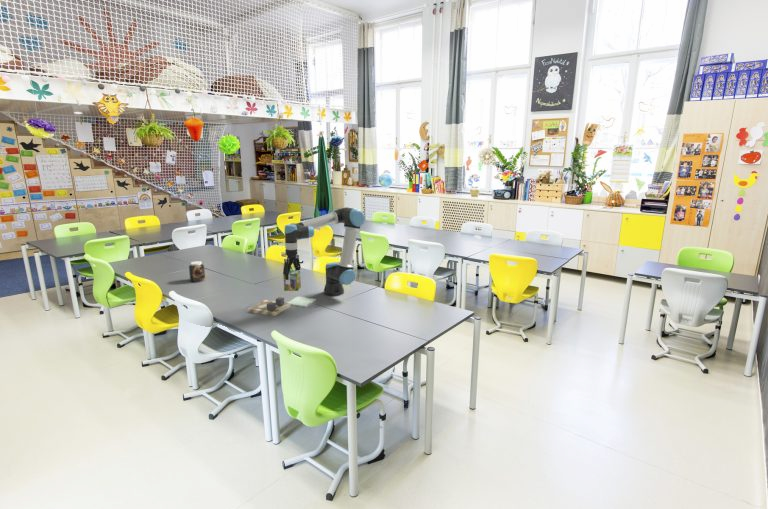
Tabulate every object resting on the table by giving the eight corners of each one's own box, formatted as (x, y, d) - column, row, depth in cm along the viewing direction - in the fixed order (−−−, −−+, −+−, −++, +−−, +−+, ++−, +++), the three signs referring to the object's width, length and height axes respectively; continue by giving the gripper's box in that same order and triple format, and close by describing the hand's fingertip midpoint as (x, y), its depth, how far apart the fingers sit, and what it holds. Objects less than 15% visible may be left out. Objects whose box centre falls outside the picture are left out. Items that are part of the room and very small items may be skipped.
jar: (186, 281, 328) (184, 263, 325) (197, 277, 339) (195, 260, 335) (198, 283, 324) (196, 264, 321) (208, 279, 335) (207, 261, 332)
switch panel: (290, 306, 277) (290, 303, 276) (274, 316, 259) (274, 313, 259) (265, 302, 283) (265, 299, 282) (248, 312, 265) (248, 309, 265)
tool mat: (316, 300, 289) (316, 298, 288) (305, 307, 275) (305, 305, 275) (297, 297, 293) (297, 296, 293) (286, 304, 279) (286, 303, 279)
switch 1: (275, 308, 265) (275, 302, 264) (272, 310, 261) (272, 304, 260) (270, 307, 266) (270, 302, 265) (267, 310, 263) (266, 304, 262)
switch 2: (284, 303, 274) (284, 297, 273) (281, 305, 271) (280, 299, 270) (279, 302, 276) (278, 297, 275) (275, 304, 272) (275, 299, 271)
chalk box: (297, 291, 262) (297, 269, 259) (283, 291, 262) (282, 268, 259) (301, 287, 271) (300, 265, 268) (287, 286, 271) (286, 265, 268)
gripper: (295, 244, 272) (296, 276, 277) (276, 251, 251) (277, 286, 256) (305, 245, 270) (306, 277, 275) (286, 252, 249) (288, 287, 254)
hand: (292, 281), depth 266 cm, fingers closed on chalk box, 10 cm apart
